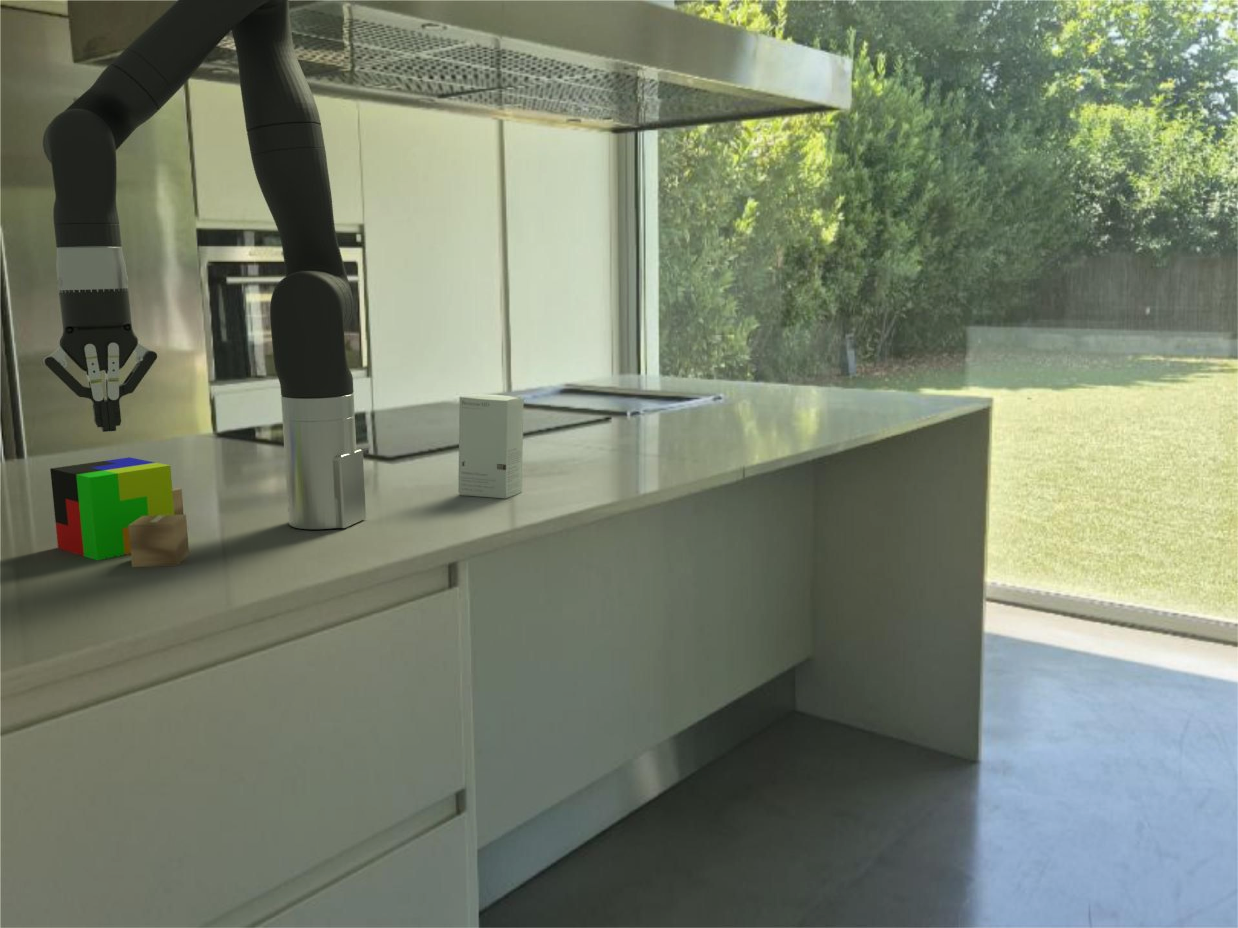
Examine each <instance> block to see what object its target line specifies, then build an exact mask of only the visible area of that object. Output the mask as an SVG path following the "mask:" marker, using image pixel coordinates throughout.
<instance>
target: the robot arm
mask: <svg viewBox="0 0 1238 928" xmlns="http://www.w3.org/2000/svg"><path fill="white" fill-rule="evenodd" d="M290 15H291V14H290V2H289V0H177V1H175V3H174V4H172V6H170V7H169V8H168V9H167V10H166V11H165V12H164V13H163V14H161V16H160V17H158V18H157V19H156V20H154V22H153V23H151V25H150V26H148V27H147V28H146V29H145V30H144V31H143V32H142V33H141V34H140V35H139V36H137V37H136V38H135V39H134V40H133V41H132V42H131V43H130V44H129V45H128V46H126V47H125V49H124V50H123V51H121V53H120V54H119V55H118V56H117V57H116V58H115V59H114V60H112V62H110V63H109V65H108V66H107V67H106V68H105V69H104V70H103V71H102V72H101V73H100V74H99V76H98V77H97V79H96V80H95V82H94V83H93V84H92V86H91V87H89V88H88V89H87V90H86V91H85V92H84V93H82V94H81V96H80V97H78V98H77V99H75V100H74V102H72V103H71V104H70V105H69V106H68V107H67V108H66V109H65V110H64V111H62V112H61V113H59V114H57V115H56V116H55V117H54V118H53V119H52V120H51V122H49V124H48V125H47V127H45V130H44V133H43V137H42V148H43V151H44V154H45V157H46V159H47V160H48V161H49V163H50V164H51V170H52V178H53V185H54V192H55V193H54V194H55V198H54V199H55V200H54V203H53V212H52V214H53V218H52V219H53V226H54V227H53V228H54V235H55V236H54V237H55V247H56V264H55V265H56V267H55V268H56V276H57V277H56V278H57V285H58V295H59V296H58V297H59V305H60V313H61V314H60V315H61V323H62V335H61V338H60V340H59V347H58V348H57V349H56V350H55V351H53V352H52V353H51V354H50V355H47V356H45V357H44V358H43V360H42V362H43V364H44V365H45V366H46V367H47V368H48V369H49V370H50V371H51V372H52V373H53V374H54V375H55V376H56V377H57V378H58V379H59V380H60V381H61V382H63V384H65V385H66V387H68V388H69V389H70V390H71V391H72V392H73V393H74V395H76V396H77V397H79V398H86V399H89V400H90V401H91V403H92V409H93V410H92V411H93V421H94V424H95V425H96V427H97V428H100V429H101V432H103V433H105V432H106V433H107V432H117V427H119V426H121V423H122V417H121V416H122V415H121V414H122V413H121V405H120V400H121V398H122V397H124V396H127V395H129V394H132V393H134V392H135V390H136V389H137V387H138V386H139V385H140V383H141V382H142V380H143V379H144V378H145V377H146V374H147V373H148V372H149V370H150V369H151V368H152V366H153V364H154V363H155V361H156V360H157V358H158V354H157V352H156V351H154V350H150V349H148V348H146V347H144V346H143V345H142V344H140V343H139V339H138V336H137V335H136V334H135V332H134V330H133V326H132V325H133V323H132V314H131V304H130V294H129V277H128V274H127V265H126V262H125V258H124V253H123V248H122V237H121V227H120V218H119V214H118V209H117V208H118V207H117V177H118V176H117V173H118V172H117V152H116V151H117V150H118V149H119V148H120V147H121V146H122V145H123V144H124V143H125V142H126V141H127V139H129V137H130V136H131V134H132V133H134V131H135V130H136V129H137V128H139V127H140V126H141V125H143V124H144V123H146V122H147V121H149V120H150V119H151V118H152V117H153V116H155V115H156V113H158V111H160V110H161V109H162V108H163V107H164V106H165V104H167V103H168V101H170V100H171V99H172V98H173V97H174V95H175V94H176V93H177V92H179V90H180V89H181V88H182V87H183V86H184V85H185V84H186V83H187V82H188V80H189V79H190V78H191V77H192V76H193V75H194V74H195V72H196V71H197V70H198V69H199V68H200V66H202V64H203V63H204V61H205V60H206V59H207V58H208V56H209V55H210V54H211V53H212V52H213V51H214V49H215V48H216V47H217V46H218V45H219V44H220V42H221V41H223V39H224V38H225V37H226V36H227V35H228V34H229V33H230V32H231V34H232V39H233V41H234V46H235V50H236V57H237V58H236V59H237V63H238V66H237V67H238V75H239V84H240V85H239V86H240V92H241V93H240V94H241V100H242V108H243V115H244V122H245V129H246V135H247V141H248V145H249V153H250V157H251V162H252V167H253V170H254V173H255V177H256V180H257V182H258V185H259V188H260V190H261V194H262V195H263V198H264V201H265V202H266V203H265V204H266V205H267V207H268V210H269V212H270V214H271V216H272V218H273V220H274V223H275V226H276V229H277V231H278V234H279V238H280V243H281V247H282V253H283V254H282V255H283V263H284V270H285V271H284V272H285V273H284V274H285V277H283V278H282V279H281V280H280V281H279V282H278V283H277V284H276V285H275V287H274V289H273V291H272V294H271V297H270V303H269V318H270V319H269V320H270V332H271V333H270V335H271V346H272V354H273V363H274V364H273V365H274V370H275V374H276V376H277V379H278V381H279V384H280V385H279V386H280V395H281V396H280V398H281V399H280V401H281V415H282V417H281V418H282V433H283V447H284V449H283V450H284V463H285V466H284V467H285V481H286V484H285V485H286V497H287V512H288V524H289V526H290V527H292V528H296V529H300V530H301V529H302V530H329V529H345V528H349V527H350V526H353V525H354V524H357V523H359V522H361V521H363V520H366V519H367V511H366V510H367V509H366V489H365V487H366V486H365V470H364V469H365V468H364V451H363V450H362V449H360V448H357V439H356V436H357V435H356V419H355V418H356V416H355V415H356V414H355V413H356V412H355V395H354V392H355V391H354V379H353V377H354V376H353V373H352V371H351V370H350V368H349V366H348V360H347V354H346V342H345V341H346V339H345V331H346V330H347V328H349V325H350V324H351V322H352V319H353V315H354V309H355V305H354V304H355V303H354V298H353V292H352V289H351V288H352V287H351V285H350V282H349V278H348V275H347V271H346V268H345V263H344V260H343V257H342V252H341V249H340V246H339V241H338V237H337V231H336V227H335V220H334V219H335V218H334V209H333V208H334V206H333V199H332V198H333V197H332V191H331V190H332V189H331V183H330V174H329V167H328V161H327V159H328V158H327V151H326V145H325V139H324V134H323V128H322V122H321V118H320V114H319V109H318V106H317V104H316V100H315V97H314V95H313V92H312V90H311V88H310V86H309V85H310V84H309V83H308V80H307V78H306V75H305V74H304V71H303V70H302V68H301V64H300V62H299V60H298V56H297V54H296V50H295V46H294V40H293V34H292V26H291V16H290ZM133 352H135V354H134V357H133V360H134V362H135V363H136V364H135V365H134V366H133V368H132V369H131V370H130V372H129V374H128V375H127V377H126V378H125V379H124V380H123V382H122V383H121V384H120V370H121V369H123V368H124V366H125V365H126V363H127V362H128V360H129V359H130V357H131V356H132V354H133ZM66 355H67V356H68V357H69V358H70V359H71V361H72V362H73V363H74V364H75V365H76V366H77V367H78V368H79V369H81V370H82V371H84V372H85V374H86V379H87V383H88V386H84V385H82V383H80V382H79V381H78V379H76V378H75V377H74V376H73V375H72V374H71V373H70V372H69V371H68V370H67V369H66V368H67V366H68V361H67V359H66ZM102 371H104V379H105V395H104V390H103V383H102V377H101V376H102V375H101V372H102ZM105 396H106V399H105Z"/></svg>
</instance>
